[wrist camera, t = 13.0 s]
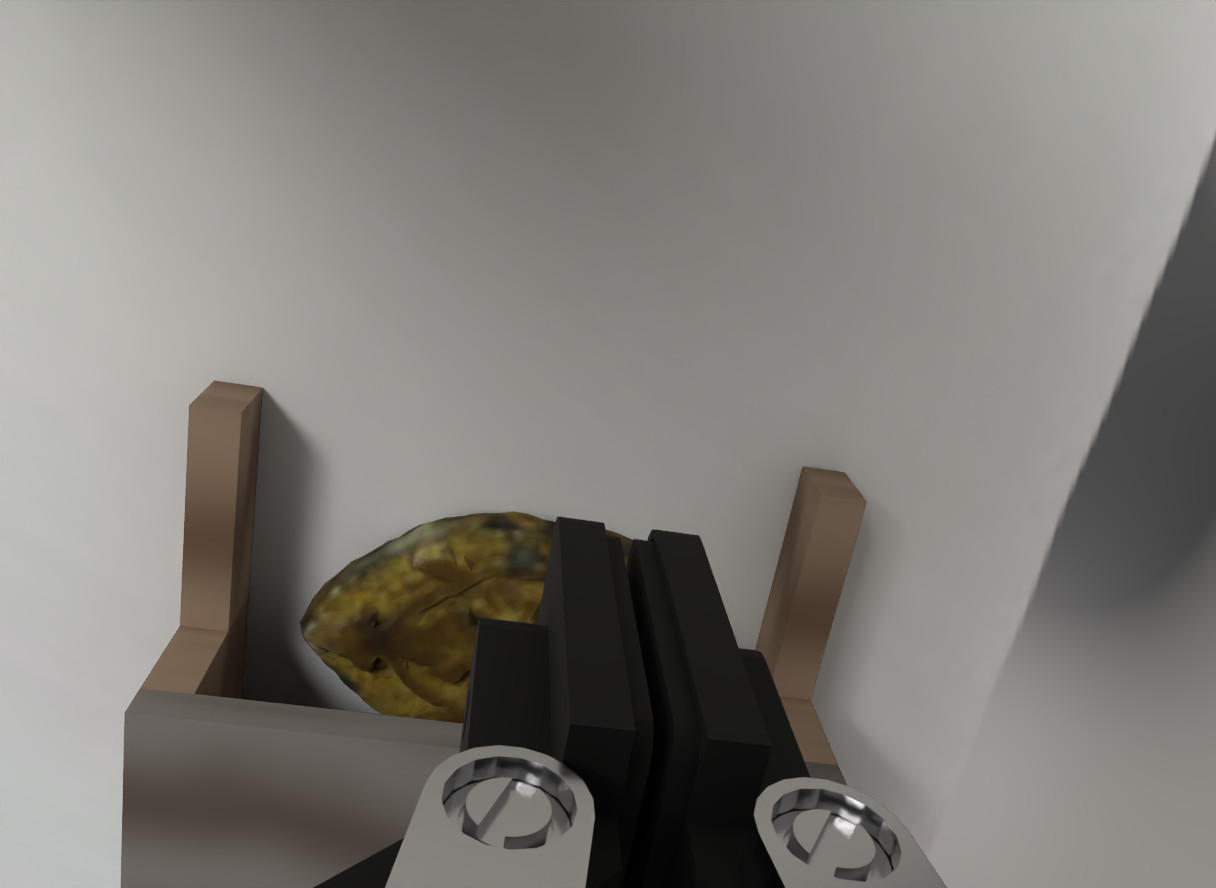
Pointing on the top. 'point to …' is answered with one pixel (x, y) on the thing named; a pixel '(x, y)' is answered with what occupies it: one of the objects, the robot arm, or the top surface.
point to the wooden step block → (345, 740)
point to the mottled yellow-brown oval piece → (429, 609)
